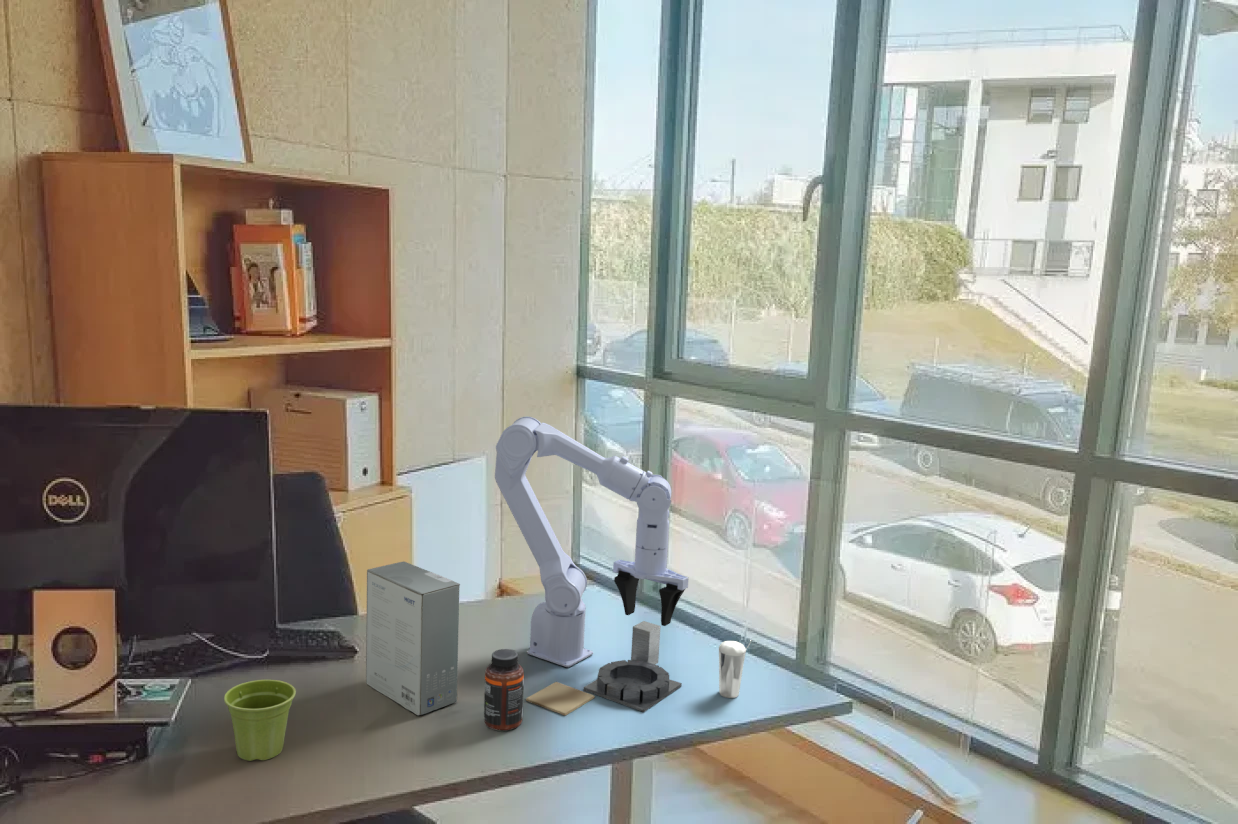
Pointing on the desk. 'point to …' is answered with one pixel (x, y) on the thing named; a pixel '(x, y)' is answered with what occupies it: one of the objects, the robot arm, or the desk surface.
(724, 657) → the milkshake
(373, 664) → the hard drive box
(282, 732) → the plant pot
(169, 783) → the desk surface
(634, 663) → the dark grey collar
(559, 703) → the cork pad
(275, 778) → the desk surface
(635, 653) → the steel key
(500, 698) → the supplement bottle
